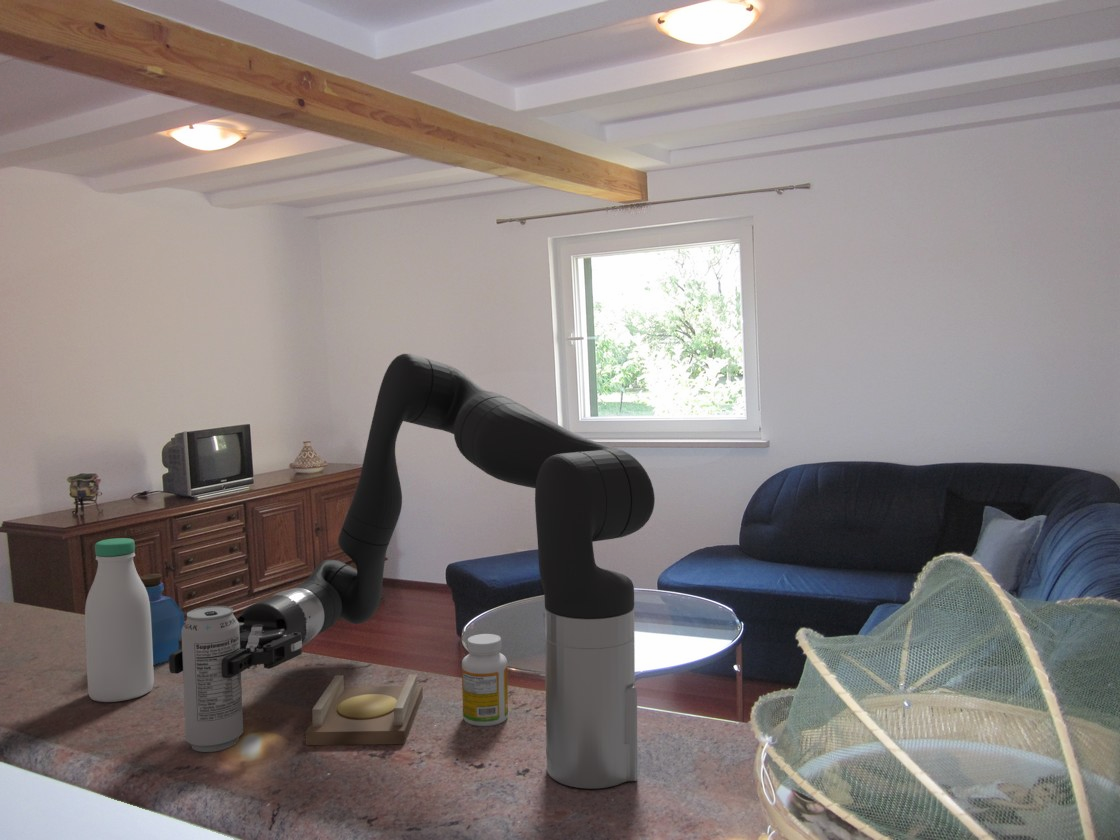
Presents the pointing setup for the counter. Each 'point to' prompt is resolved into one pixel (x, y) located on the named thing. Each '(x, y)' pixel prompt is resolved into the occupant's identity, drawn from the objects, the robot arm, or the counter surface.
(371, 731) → the stand
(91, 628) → the milk bottle
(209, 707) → the energy drink can
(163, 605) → the perfume bottle
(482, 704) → the supplement bottle
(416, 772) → the counter surface
